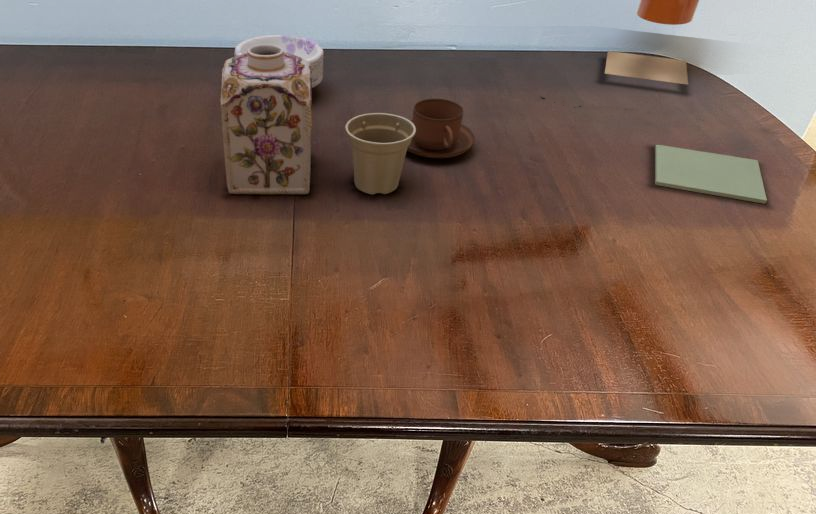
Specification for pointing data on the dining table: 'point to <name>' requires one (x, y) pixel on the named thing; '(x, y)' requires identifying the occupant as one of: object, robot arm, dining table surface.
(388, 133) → the flower pot
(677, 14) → the canister
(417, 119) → the cup and saucer
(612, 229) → the dining table surface
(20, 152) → the dining table surface
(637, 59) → the board
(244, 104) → the decorative jar
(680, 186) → the mat
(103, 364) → the dining table surface
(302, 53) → the white floral bowl
